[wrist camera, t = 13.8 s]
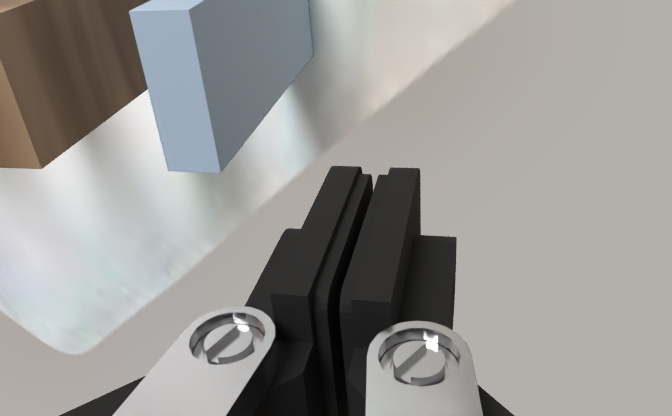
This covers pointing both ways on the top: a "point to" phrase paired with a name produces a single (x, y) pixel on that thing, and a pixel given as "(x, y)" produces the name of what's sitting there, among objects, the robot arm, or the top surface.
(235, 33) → the domino
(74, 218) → the top surface
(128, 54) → the domino
